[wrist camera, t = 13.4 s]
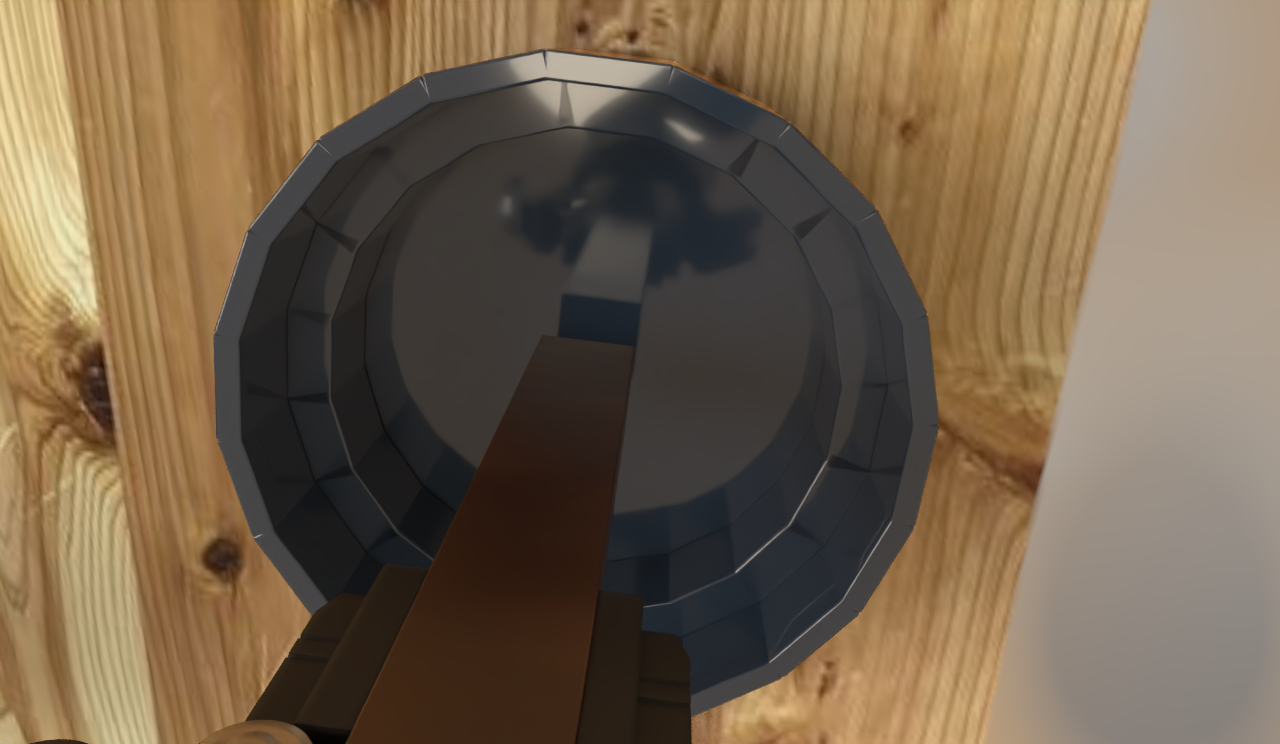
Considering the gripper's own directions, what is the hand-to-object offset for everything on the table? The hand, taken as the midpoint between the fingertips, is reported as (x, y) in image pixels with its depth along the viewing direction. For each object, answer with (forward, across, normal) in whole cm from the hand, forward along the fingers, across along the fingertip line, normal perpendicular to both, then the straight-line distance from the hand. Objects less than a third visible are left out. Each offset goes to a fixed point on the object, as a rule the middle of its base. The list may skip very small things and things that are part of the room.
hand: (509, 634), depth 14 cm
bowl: (+14, 0, 0) cm, 14 cm away
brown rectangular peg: (+11, 0, 0) cm, 11 cm away
